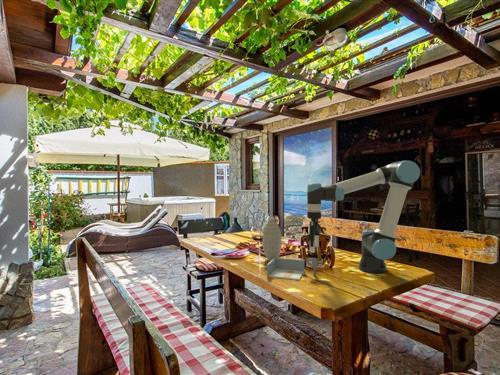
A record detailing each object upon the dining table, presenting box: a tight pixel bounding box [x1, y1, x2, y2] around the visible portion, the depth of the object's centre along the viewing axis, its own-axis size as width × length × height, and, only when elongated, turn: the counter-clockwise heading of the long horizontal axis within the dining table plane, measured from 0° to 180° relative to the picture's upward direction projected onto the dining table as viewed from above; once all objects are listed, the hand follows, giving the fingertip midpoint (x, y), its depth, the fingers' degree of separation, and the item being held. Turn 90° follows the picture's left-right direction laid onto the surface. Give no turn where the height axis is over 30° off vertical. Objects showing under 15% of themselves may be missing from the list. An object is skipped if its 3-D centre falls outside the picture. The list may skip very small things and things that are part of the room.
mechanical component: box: [304, 257, 325, 278], centre depth 164 cm, size 3×10×10 cm, turn 78°
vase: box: [262, 217, 283, 262], centre depth 198 cm, size 13×13×28 cm
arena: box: [266, 257, 305, 281], centre depth 169 cm, size 18×15×7 cm
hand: (314, 249), depth 164 cm, fingers open, 13 cm apart
